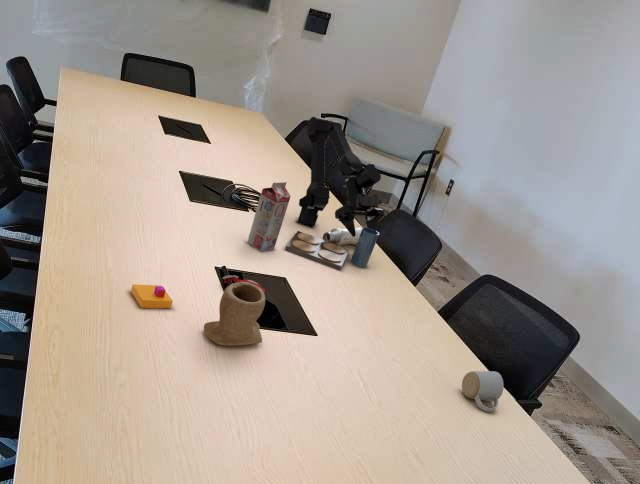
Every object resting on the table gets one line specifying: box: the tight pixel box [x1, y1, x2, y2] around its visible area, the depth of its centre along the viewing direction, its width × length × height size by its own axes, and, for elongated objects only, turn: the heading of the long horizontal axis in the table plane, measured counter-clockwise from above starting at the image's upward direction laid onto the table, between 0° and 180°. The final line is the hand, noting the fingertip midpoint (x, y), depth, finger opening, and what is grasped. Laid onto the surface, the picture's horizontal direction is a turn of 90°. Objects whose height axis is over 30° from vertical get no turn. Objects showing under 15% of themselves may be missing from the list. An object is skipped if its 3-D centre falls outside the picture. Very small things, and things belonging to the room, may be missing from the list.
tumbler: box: [349, 226, 380, 269], centre depth 234 cm, size 6×6×12 cm
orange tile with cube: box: [130, 284, 173, 309], centre depth 169 cm, size 8×8×4 cm
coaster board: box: [284, 230, 350, 271], centre depth 235 cm, size 20×20×2 cm
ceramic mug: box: [461, 370, 505, 413], centre depth 172 cm, size 11×8×8 cm
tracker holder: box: [222, 274, 266, 294], centre depth 189 cm, size 12×4×10 cm
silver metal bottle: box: [322, 227, 363, 246], centre depth 248 cm, size 6×7×20 cm
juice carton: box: [246, 181, 292, 252], centre depth 219 cm, size 7×7×22 cm
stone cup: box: [203, 282, 266, 346], centre depth 161 cm, size 15×12×15 cm
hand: (364, 237), depth 234 cm, fingers open, 9 cm apart
